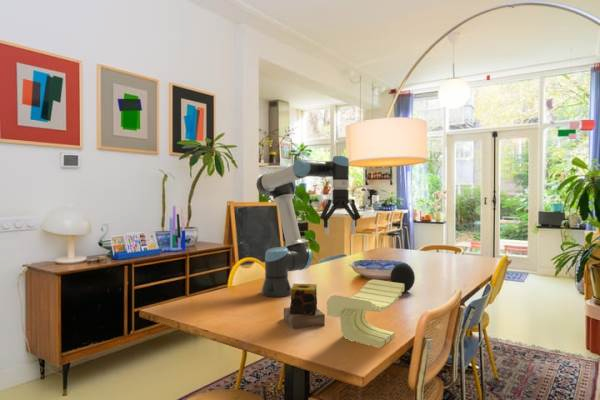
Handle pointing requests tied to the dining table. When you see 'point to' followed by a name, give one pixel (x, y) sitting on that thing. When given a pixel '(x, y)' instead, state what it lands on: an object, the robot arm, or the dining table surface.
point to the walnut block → (304, 319)
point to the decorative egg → (403, 275)
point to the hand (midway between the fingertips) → (340, 234)
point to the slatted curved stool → (353, 311)
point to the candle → (303, 299)
